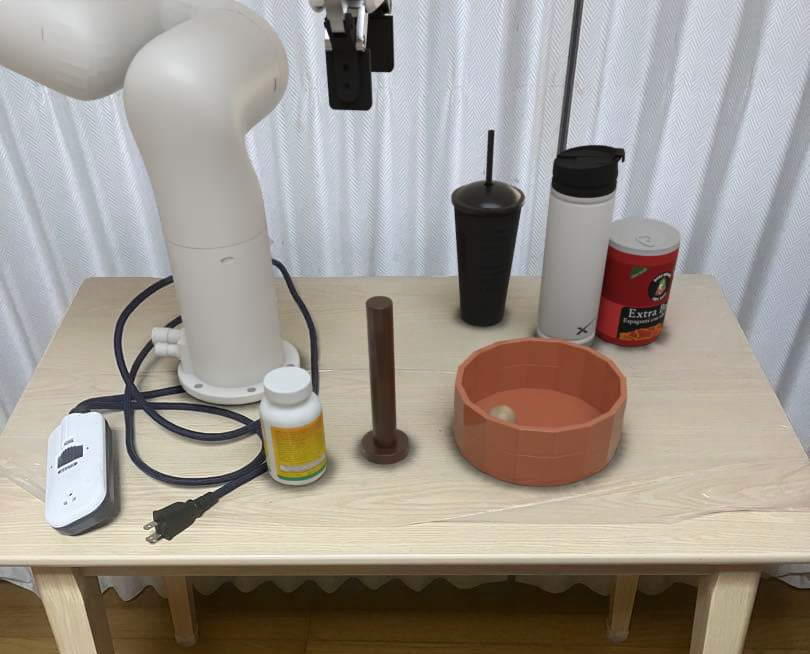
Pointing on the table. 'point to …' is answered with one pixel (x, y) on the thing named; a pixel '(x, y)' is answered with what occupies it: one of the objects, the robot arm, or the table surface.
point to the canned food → (637, 280)
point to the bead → (503, 413)
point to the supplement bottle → (292, 427)
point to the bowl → (539, 410)
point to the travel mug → (577, 241)
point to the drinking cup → (485, 243)
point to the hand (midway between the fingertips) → (363, 89)
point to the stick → (382, 386)
